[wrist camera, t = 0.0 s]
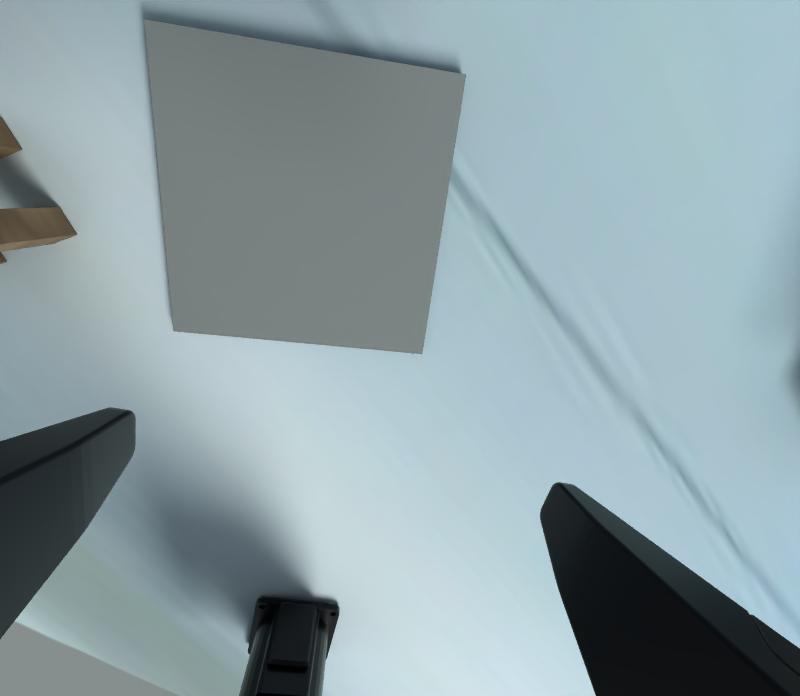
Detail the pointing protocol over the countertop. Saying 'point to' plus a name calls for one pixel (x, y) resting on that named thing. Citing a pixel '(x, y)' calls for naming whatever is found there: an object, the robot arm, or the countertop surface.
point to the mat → (299, 188)
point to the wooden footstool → (28, 214)
